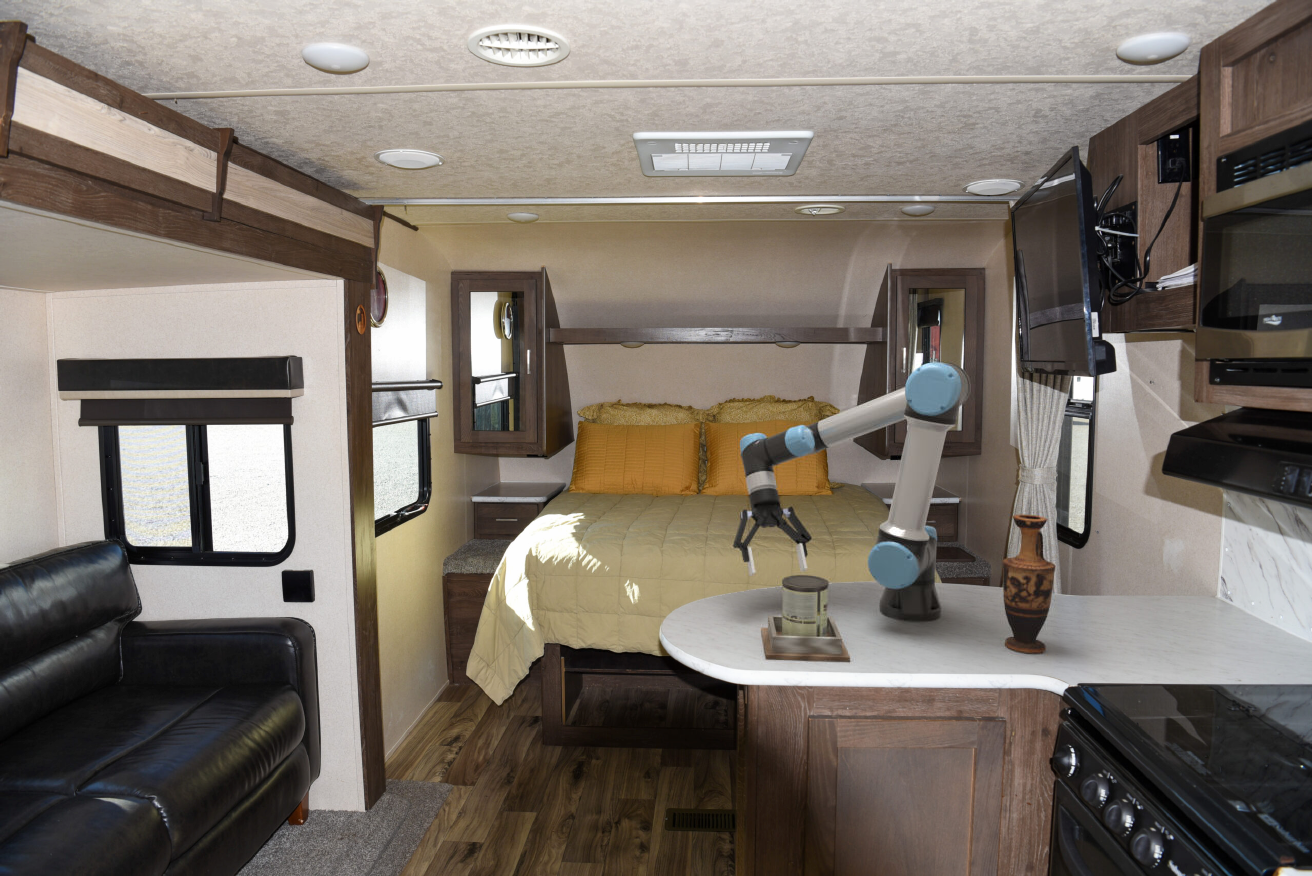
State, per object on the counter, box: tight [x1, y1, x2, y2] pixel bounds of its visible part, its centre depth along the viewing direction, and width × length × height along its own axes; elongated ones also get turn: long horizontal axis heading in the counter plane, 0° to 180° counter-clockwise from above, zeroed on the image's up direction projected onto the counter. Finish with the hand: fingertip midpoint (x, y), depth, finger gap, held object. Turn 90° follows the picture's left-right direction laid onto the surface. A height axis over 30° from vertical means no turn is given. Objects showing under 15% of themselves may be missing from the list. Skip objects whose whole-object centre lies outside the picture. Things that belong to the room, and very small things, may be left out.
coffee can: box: [781, 574, 829, 637], centre depth 183 cm, size 10×10×14 cm
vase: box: [1001, 513, 1056, 654], centre depth 182 cm, size 11×11×30 cm
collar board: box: [760, 614, 851, 663], centre depth 184 cm, size 18×18×4 cm
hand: (778, 572), depth 201 cm, fingers open, 13 cm apart
